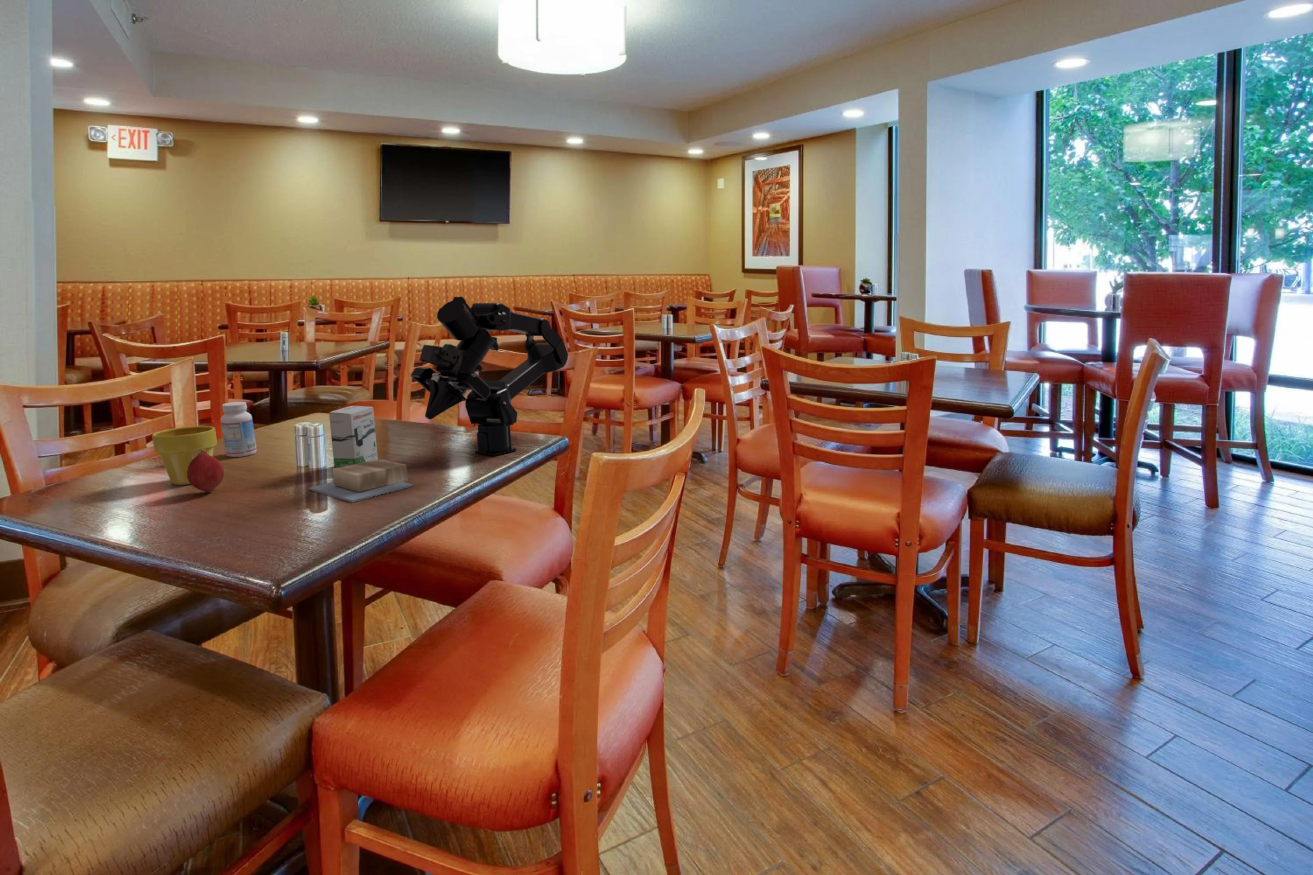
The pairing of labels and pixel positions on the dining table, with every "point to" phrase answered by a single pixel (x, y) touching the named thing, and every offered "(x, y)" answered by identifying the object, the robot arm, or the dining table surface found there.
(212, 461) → the onion
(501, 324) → the robot arm
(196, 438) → the plant pot
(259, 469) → the dining table surface
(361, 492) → the rubber mat
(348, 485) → the maple slab
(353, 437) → the ink box
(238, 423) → the pill bottle
